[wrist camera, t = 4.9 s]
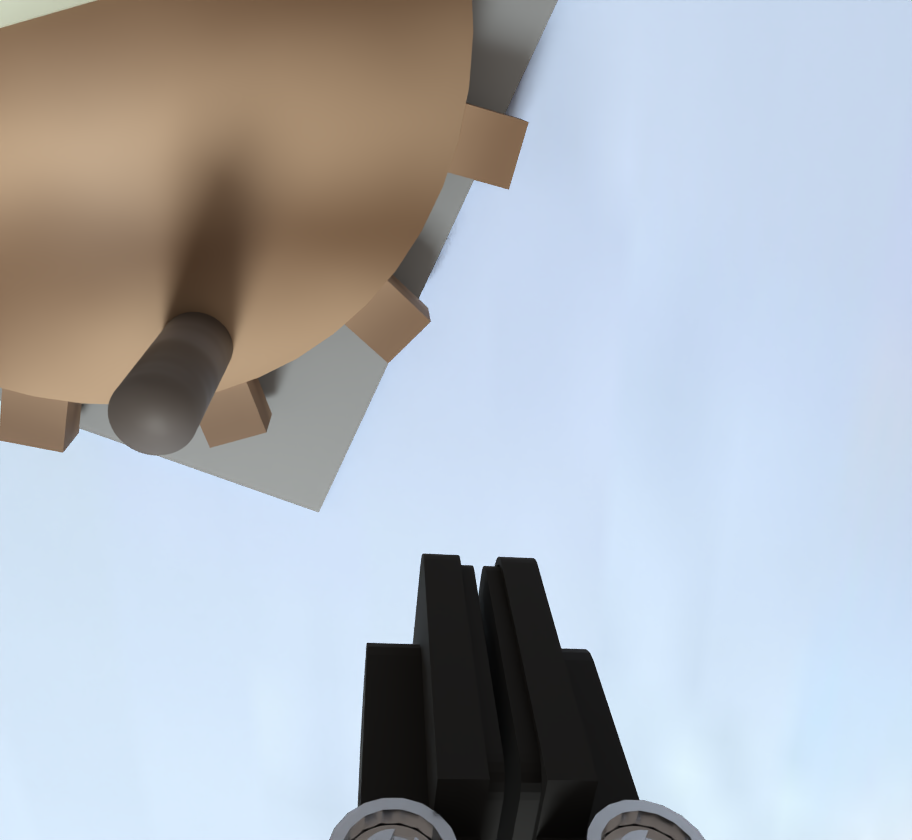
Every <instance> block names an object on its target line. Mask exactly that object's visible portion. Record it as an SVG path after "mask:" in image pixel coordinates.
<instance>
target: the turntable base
mask: <svg viewBox="0 0 912 840" xmlns="http://www.w3.org/2000/svg"><path fill="white" fill-rule="evenodd" d="M557 1H558V0H472V12H473V42H472V55H471V68H470V81H469V90H468V95H467V100H466V103H469V104H472V105H476V106H479V107H482V108H486V109H489V110H492V111H496V112H499V113H503V114H505V112H506V110H507V108H508V106H509V104H510V102H511V99H512V97H513V95H514V93H515V91H516V89H517V87H518V84H519V82H520V80H521V78H522V76H523V74H524V72H525V70H526V67H527V65H528V63H529V61H530V59H531V57H532V55H533V52H534V50H535V48H536V46H537V44H538V42H539V40H540V37H541V35H542V33H543V31H544V29H545V27H546V25H547V22H548V20H549V18H550V16H551V14H552V12H553V10H554V7H555V5H556V3H557ZM473 181H474V180H473V179H470V178H466V177H463V176H459V175H455V174H452V173H447V176H446V179H445V182H444V185H443V188H442V190H441V192H440V194H439V196H438V198H437V200H436V202H435V204H434V207H433V209H432V211H431V213H430V215H429V217H428V219H427V221H426V223H425V225H424V227H423V229H422V231H421V233H420V235H419V236H418V238H417V239H416V241H415V242H414V244H413V245H412V247H411V248H410V250H409V251H408V253H407V254H406V256H405V257H404V259H403V261H402V262H401V264H400V265H399V267H398V268H397V270H396V271H395V272H394V273H393V275H394V276H395V277H396V278H397V279H398V280H399V281H400V282H401V283H402V284H403V285H404V286H405V287H406V288H407V289H409V290H410V291H411V292H412V293H413V294H414V295H415V296H416V297H417V298H418V299H419V296H420V294H421V292H422V290H423V288H424V286H425V284H426V282H427V279H428V277H429V275H430V273H431V271H432V269H433V267H434V264H435V262H436V260H437V258H438V256H439V254H440V252H441V249H442V247H443V245H444V243H445V241H446V239H447V237H448V234H449V232H450V230H451V228H452V226H453V224H454V222H455V219H456V217H457V215H458V213H459V211H460V209H461V207H462V204H463V202H464V200H465V198H466V196H467V194H468V192H469V189H470V187H471V185H472V183H473ZM387 365H388V363H387V362H386V361H385V360H384V359H383V358H382V357H380V356H379V355H378V354H377V353H376V352H375V351H374V350H373V349H371V348H370V347H369V346H368V345H367V344H366V343H365V342H364V341H363V340H361V339H360V338H359V337H358V336H357V335H356V334H355V333H354V332H352V331H351V330H350V329H349V328H348V327H347V326H346V325H345V324H344V325H343V326H342V327H341V328H340V329H339V330H337V331H336V332H335V333H334V334H333V335H331V336H330V337H328V338H327V339H325V340H324V341H322V342H321V343H319V344H318V345H316V346H315V347H313V348H312V349H310V350H309V351H307V352H306V353H305V354H303V355H302V356H300V357H299V358H297V359H295V360H293V361H291V362H289V363H287V364H285V365H283V366H281V367H279V368H277V369H275V370H273V371H271V372H269V373H267V374H265V375H263V376H261V377H259V378H258V380H259V382H260V385H261V387H262V390H263V392H264V395H265V397H266V400H267V403H268V405H269V408H270V410H271V413H272V416H271V419H270V422H269V426H268V429H267V433H263V434H259V435H256V436H252V437H248V438H245V439H241V440H237V441H234V442H230V443H226V444H223V445H219V446H215V447H212V448H210V447H209V445H208V442H207V440H206V438H205V436H204V433H203V431H202V429H201V426H200V425H199V427H198V429H197V431H196V433H195V435H194V437H193V438H192V440H191V441H190V442H189V443H188V444H187V445H186V446H185V447H184V448H182V449H181V450H179V451H177V452H174V453H171V454H167V455H157V456H160V457H163V458H165V459H168V460H171V461H174V462H177V463H180V464H183V465H185V466H188V467H191V468H194V469H197V470H200V471H203V472H205V473H208V474H211V475H214V476H217V477H220V478H222V479H225V480H228V481H231V482H234V483H237V484H240V485H242V486H245V487H248V488H251V489H254V490H257V491H259V492H262V493H265V494H268V495H271V496H274V497H277V498H279V499H282V500H285V501H288V502H291V503H294V504H296V505H299V506H302V507H305V508H308V509H311V510H314V511H316V512H319V511H320V508H321V506H322V504H323V502H324V500H325V498H326V496H327V493H328V491H329V489H330V487H331V485H332V483H333V481H334V479H335V476H336V474H337V472H338V470H339V468H340V466H341V464H342V461H343V459H344V457H345V455H346V453H347V451H348V449H349V446H350V444H351V442H352V440H353V438H354V436H355V434H356V431H357V429H358V427H359V425H360V423H361V421H362V419H363V416H364V414H365V412H366V410H367V408H368V406H369V404H370V401H371V399H372V397H373V395H374V393H375V391H376V389H377V386H378V384H379V382H380V380H381V378H382V376H383V374H384V371H385V369H386V367H387ZM1 398H2V388H0V401H1ZM79 428H80V429H83V430H86V431H89V432H91V433H94V434H97V435H100V436H103V437H106V438H109V439H111V440H114V441H117V442H120V443H123V442H122V441H121V440H120V439H119V438H118V437H117V436H116V434H115V433H114V431H113V429H112V428H111V425H110V423H109V419H108V404H85V403H82V406H81V415H80V425H79ZM123 444H124V443H123Z"/></svg>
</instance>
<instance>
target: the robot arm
mask: <svg viewBox="0 0 912 840" xmlns="http://www.w3.org/2000/svg"><path fill="white" fill-rule="evenodd" d="M329 840H705V839H704V837H703V836H702V835H701V833H700V832H699V831H698V829H697V828H695V827H694V826H693V825H692V824H691V823H690V822H688V821H687V820H686V819H685V818H684V817H683V816H681V815H680V814H678V813H676V812H674V811H672V810H670V809H668V808H667V807H665V806H663V805H659V804H656V803H652V802H648V801H645V800H639V797H638V794H637V791H636V788H635V785H634V782H633V779H632V776H631V773H630V770H629V767H628V764H627V761H626V758H625V755H624V752H623V749H622V746H621V743H620V740H619V737H618V734H617V731H616V728H615V725H614V722H613V719H612V716H611V713H610V709H609V706H608V703H607V700H606V697H605V694H604V691H603V688H602V685H601V682H600V679H599V676H598V673H597V670H596V667H595V664H594V661H593V659H592V656H591V654H590V652H588V651H587V650H586V649H561V646H560V643H559V639H558V636H557V632H556V629H555V625H554V622H553V618H552V614H551V611H550V607H549V604H548V600H547V597H546V593H545V590H544V586H543V583H542V579H541V576H540V572H539V568H538V565H537V562H536V560H535V559H534V558H515V557H498V558H497V560H496V563H495V566H484V567H483V569H482V574H481V581H480V588H479V596H478V591H477V585H476V579H475V572H474V567H473V566H470V565H461V561H460V556H459V555H442V554H422V558H421V565H420V575H419V586H418V596H417V606H416V617H415V627H414V638H413V644H386V643H367V646H366V660H365V675H364V690H363V707H362V725H361V745H360V768H359V790H358V807H357V808H355V809H354V810H352V811H350V812H349V813H347V814H346V815H345V817H344V818H343V819H342V820H341V821H340V822H339V823H338V824H337V825H336V827H335V828H334V830H333V832H332V834H331V837H330V839H329Z"/></svg>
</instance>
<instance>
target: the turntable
mask: <svg viewBox="0 0 912 840" xmlns="http://www.w3.org/2000/svg"><path fill="white" fill-rule="evenodd" d="M472 42H473V12H472V0H0V388H2V398H1V415H0V441H5V442H11V443H16V444H21V445H26V446H32V447H37V448H42V449H47V450H52V451H58V452H64V451H65V449H66V448H67V447H68V446H69V444H70V443H71V442H72V441H73V439H74V438H75V437H76V435H77V434H78V433H79V425H80V415H81V406H82V403H85V404H108V419H109V423H110V425H111V428H112V429H113V431H114V433H115V434H116V436H117V437H118V438H119V439H120V440H121V441H122V442H123V443H124V444H126V445H127V446H128V447H130V448H132V449H134V450H136V451H138V452H141V453H144V454H148V455H167V454H171V453H174V452H177V451H179V450H181V449H182V448H184V447H185V446H186V445H187V444H188V443H189V442H190V441H191V440H192V438H193V437H194V435H195V433H196V431H197V429H198V427H199V425H200V426H201V429H202V431H203V433H204V436H205V438H206V440H207V442H208V445H209V447H210V448H212V447H215V446H219V445H223V444H226V443H230V442H234V441H237V440H241V439H245V438H248V437H252V436H256V435H259V434H263V433H267V429H268V426H269V422H270V419H271V416H272V413H271V410H270V408H269V405H268V403H267V400H266V397H265V395H264V392H263V390H262V387H261V385H260V382H259V380H258V378H259V377H261V376H263V375H265V374H267V373H269V372H271V371H273V370H275V369H277V368H279V367H281V366H283V365H285V364H287V363H289V362H291V361H293V360H295V359H297V358H299V357H300V356H302V355H303V354H305V353H306V352H307V351H309V350H310V349H312V348H313V347H315V346H316V345H318V344H319V343H321V342H322V341H324V340H325V339H327V338H328V337H330V336H331V335H333V334H334V333H335V332H336V331H337V330H339V329H340V328H341V327H342V326H343V325H344V324H345V325H346V326H347V327H348V328H349V329H350V330H351V331H352V332H354V333H355V334H356V335H357V336H358V337H359V338H360V339H361V340H363V341H364V342H365V343H366V344H367V345H368V346H369V347H370V348H371V349H373V350H374V351H375V352H376V353H377V354H378V355H379V356H380V357H382V358H383V359H384V360H385V361H386V362H387V363H389V362H390V361H391V360H392V359H393V358H394V357H395V356H396V355H397V354H398V353H399V352H400V351H401V350H402V349H403V348H404V347H405V346H406V345H407V344H408V343H409V342H410V341H411V340H412V339H413V338H414V337H415V336H416V335H417V334H418V333H419V332H420V331H422V330H423V329H424V328H425V327H426V326H427V325H428V324H429V323H430V322H431V321H430V316H429V311H428V308H427V307H426V306H425V305H424V304H423V303H422V302H421V301H420V300H419V299H418V298H417V297H416V296H415V295H414V294H413V293H412V292H411V291H410V290H409V289H407V288H406V287H405V286H404V285H403V284H402V283H401V282H400V281H399V280H398V279H397V278H396V277H395V276H394V275H393V273H394V272H395V271H396V270H397V268H398V267H399V265H400V264H401V262H402V261H403V259H404V257H405V256H406V254H407V253H408V251H409V250H410V248H411V247H412V245H413V244H414V242H415V241H416V239H417V238H418V236H419V235H420V233H421V231H422V229H423V227H424V225H425V223H426V221H427V219H428V217H429V215H430V213H431V211H432V209H433V207H434V204H435V202H436V200H437V198H438V196H439V194H440V192H441V190H442V188H443V185H444V182H445V179H446V176H447V173H452V174H455V175H459V176H463V177H466V178H470V179H473V180H477V181H480V182H484V183H488V184H491V185H495V186H498V187H502V188H505V189H509V187H510V183H511V180H512V177H513V173H514V170H515V166H516V163H517V160H518V156H519V153H520V150H521V146H522V143H523V139H524V136H525V133H526V129H527V126H528V122H527V121H524V120H522V119H519V118H516V117H513V116H509V115H506V114H503V113H499V112H496V111H492V110H489V109H486V108H482V107H479V106H476V105H472V104H469V103H466V100H467V95H468V90H469V81H470V68H471V55H472Z"/></svg>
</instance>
